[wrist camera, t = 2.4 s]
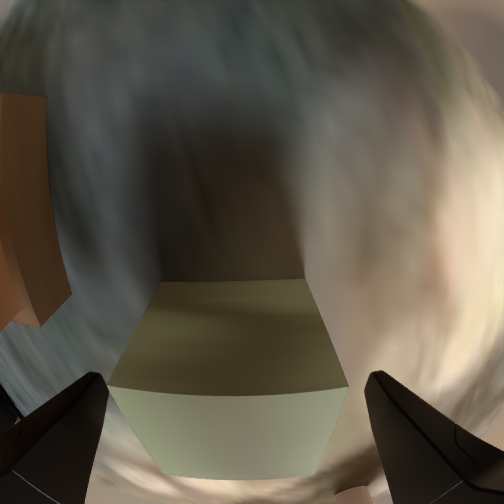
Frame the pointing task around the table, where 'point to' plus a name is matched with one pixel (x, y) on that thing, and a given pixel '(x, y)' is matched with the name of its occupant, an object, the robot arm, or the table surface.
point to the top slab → (7, 293)
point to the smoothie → (354, 496)
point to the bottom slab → (29, 210)
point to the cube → (231, 380)
